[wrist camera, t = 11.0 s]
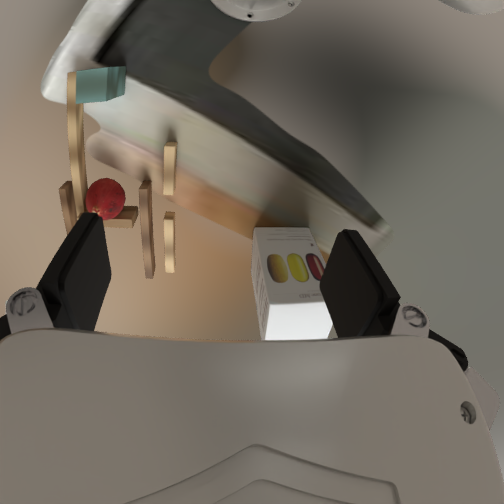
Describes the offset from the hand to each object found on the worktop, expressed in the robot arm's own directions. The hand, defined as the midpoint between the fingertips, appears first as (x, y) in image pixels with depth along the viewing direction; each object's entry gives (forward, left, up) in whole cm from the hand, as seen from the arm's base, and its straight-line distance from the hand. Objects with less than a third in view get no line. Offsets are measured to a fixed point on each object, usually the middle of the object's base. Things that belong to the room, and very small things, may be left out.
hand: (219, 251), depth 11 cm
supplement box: (+21, +12, -30) cm, 39 cm away
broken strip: (+14, -6, -30) cm, 34 cm away
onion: (+11, -15, -30) cm, 36 cm away
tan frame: (+4, -16, -30) cm, 34 cm away
